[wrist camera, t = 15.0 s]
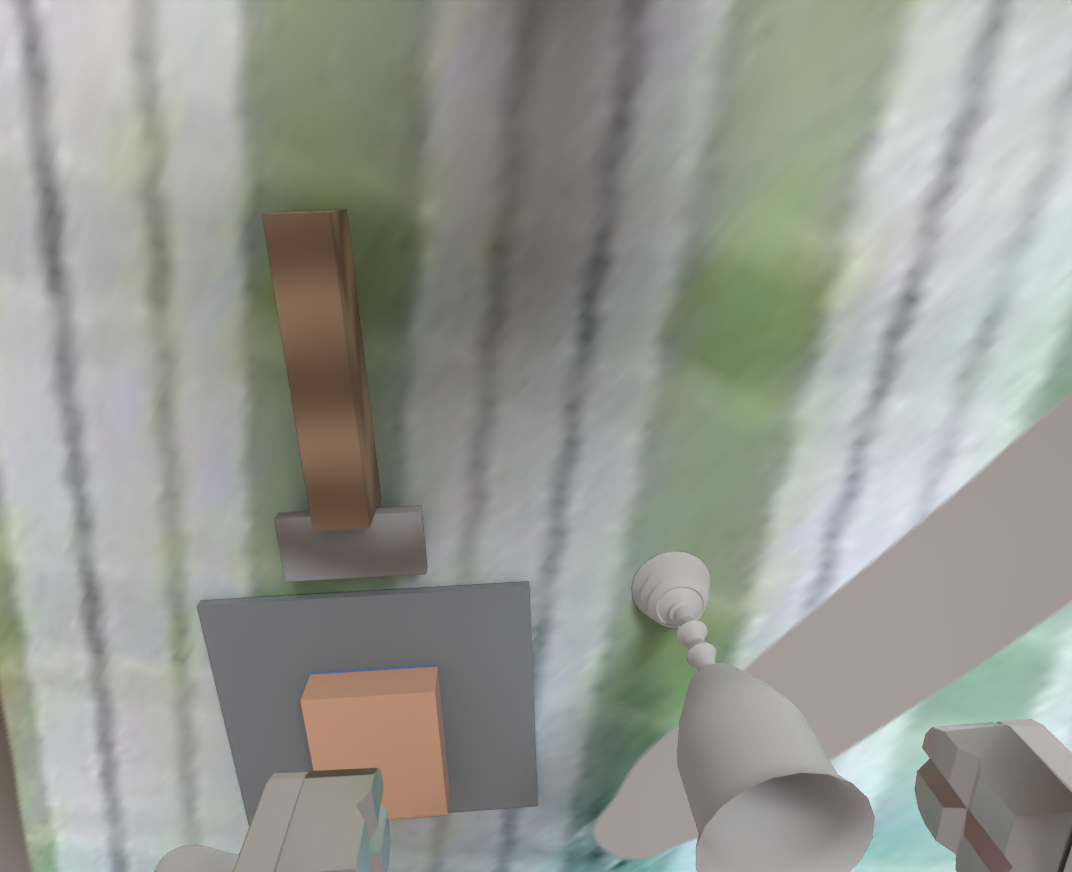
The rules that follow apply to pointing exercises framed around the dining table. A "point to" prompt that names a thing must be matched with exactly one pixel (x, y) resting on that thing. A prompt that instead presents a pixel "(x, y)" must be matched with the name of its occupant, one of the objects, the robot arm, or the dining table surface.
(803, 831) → the chalice
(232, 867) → the lumpy-topped squat cylinder
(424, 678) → the tile
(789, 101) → the dining table surface
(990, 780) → the robot arm
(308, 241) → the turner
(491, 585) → the mat
